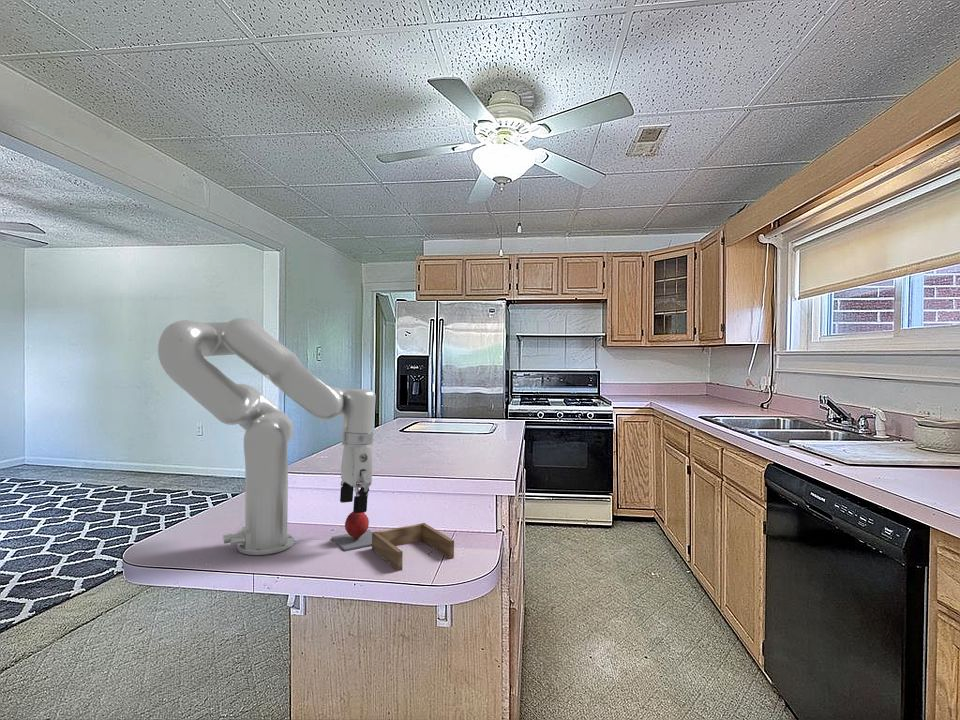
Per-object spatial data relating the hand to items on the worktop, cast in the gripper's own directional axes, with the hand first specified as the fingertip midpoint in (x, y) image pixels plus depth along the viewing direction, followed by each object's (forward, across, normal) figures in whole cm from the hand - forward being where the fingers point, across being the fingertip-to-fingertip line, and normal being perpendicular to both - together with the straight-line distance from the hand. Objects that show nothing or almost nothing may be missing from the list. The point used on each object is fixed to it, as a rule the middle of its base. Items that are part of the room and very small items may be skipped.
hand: (352, 507), depth 130 cm
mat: (+8, -1, -2) cm, 9 cm away
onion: (+8, 0, -2) cm, 8 cm away
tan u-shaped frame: (+8, -16, -10) cm, 20 cm away
